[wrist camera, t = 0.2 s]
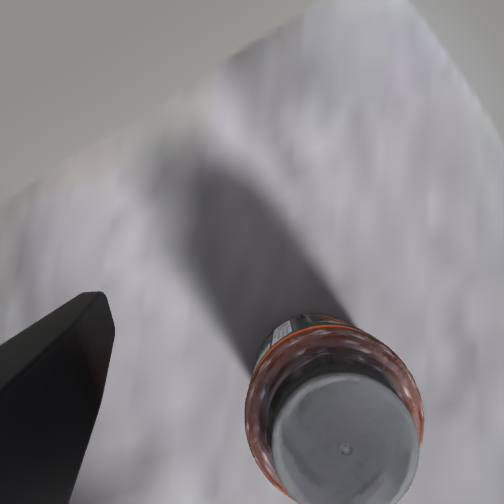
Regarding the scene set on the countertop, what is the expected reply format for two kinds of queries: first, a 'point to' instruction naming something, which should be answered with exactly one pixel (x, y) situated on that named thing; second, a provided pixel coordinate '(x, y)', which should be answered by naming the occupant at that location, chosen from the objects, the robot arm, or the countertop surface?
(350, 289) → the countertop surface
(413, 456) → the supplement bottle
